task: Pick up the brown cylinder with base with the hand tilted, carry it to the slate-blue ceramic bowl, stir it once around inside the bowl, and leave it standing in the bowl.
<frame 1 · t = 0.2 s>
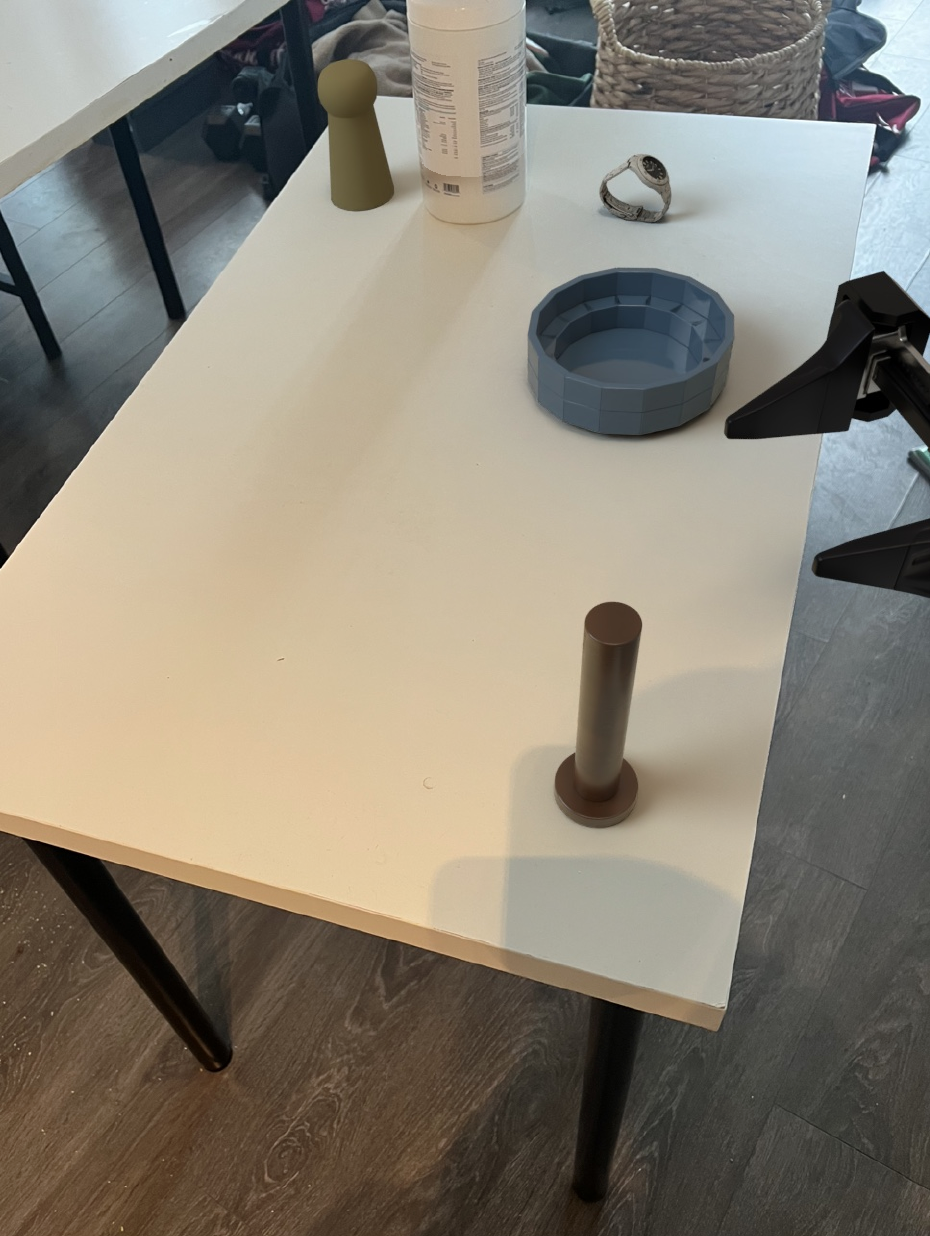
hand: (767, 492, 44), 15 cm above the table, tool horizontal, fingers open, 9 cm apart
brown cylinder with base: (595, 791, 53), on the table
bowl: (625, 377, 72), on the table
olive pawn: (362, 195, 92), on the table
wristwatch: (633, 217, 85), on the table
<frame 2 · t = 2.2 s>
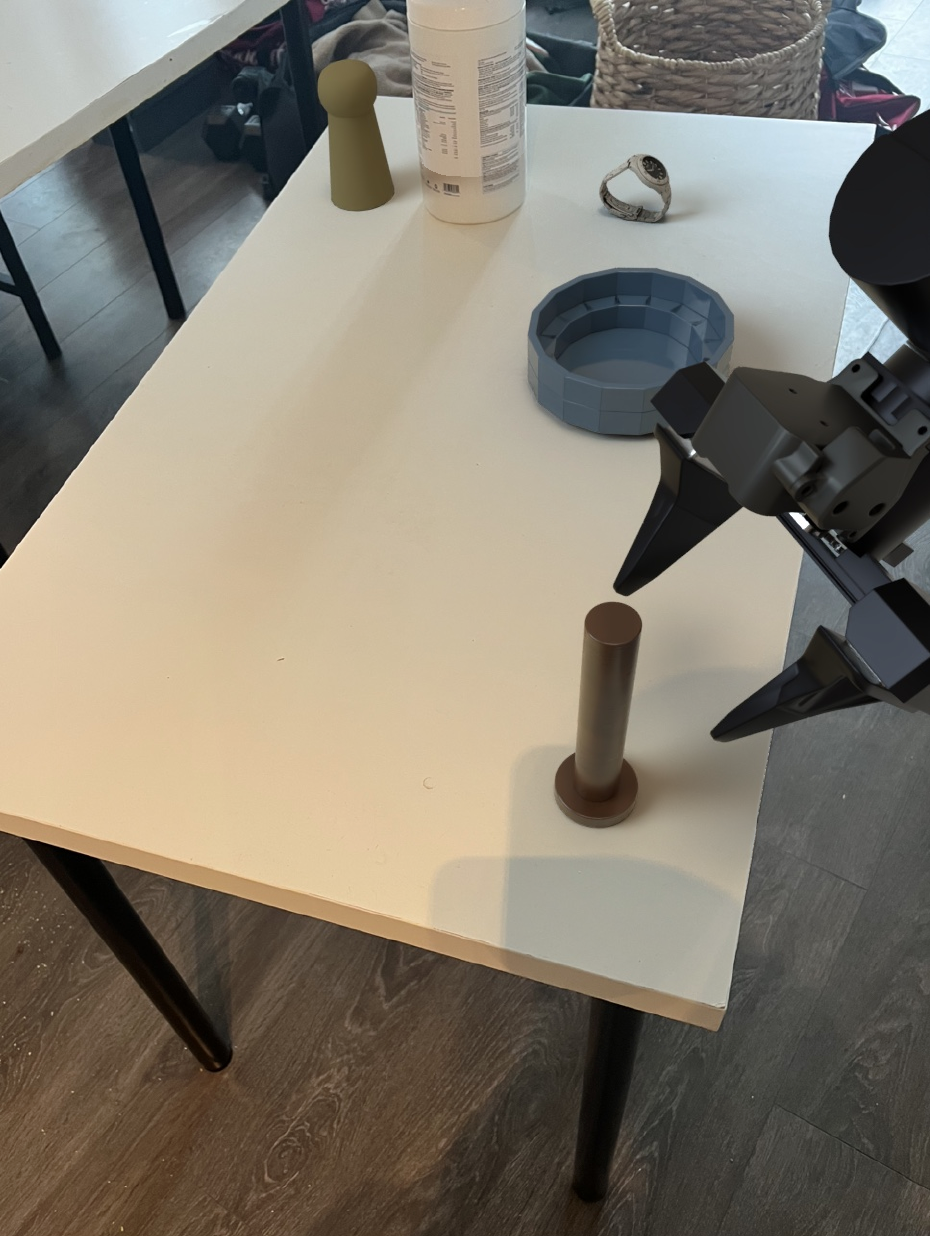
hand: (664, 661, 45), 10 cm above the table, tool tilted 45°, fingers open, 9 cm apart
nothing on the table moved.
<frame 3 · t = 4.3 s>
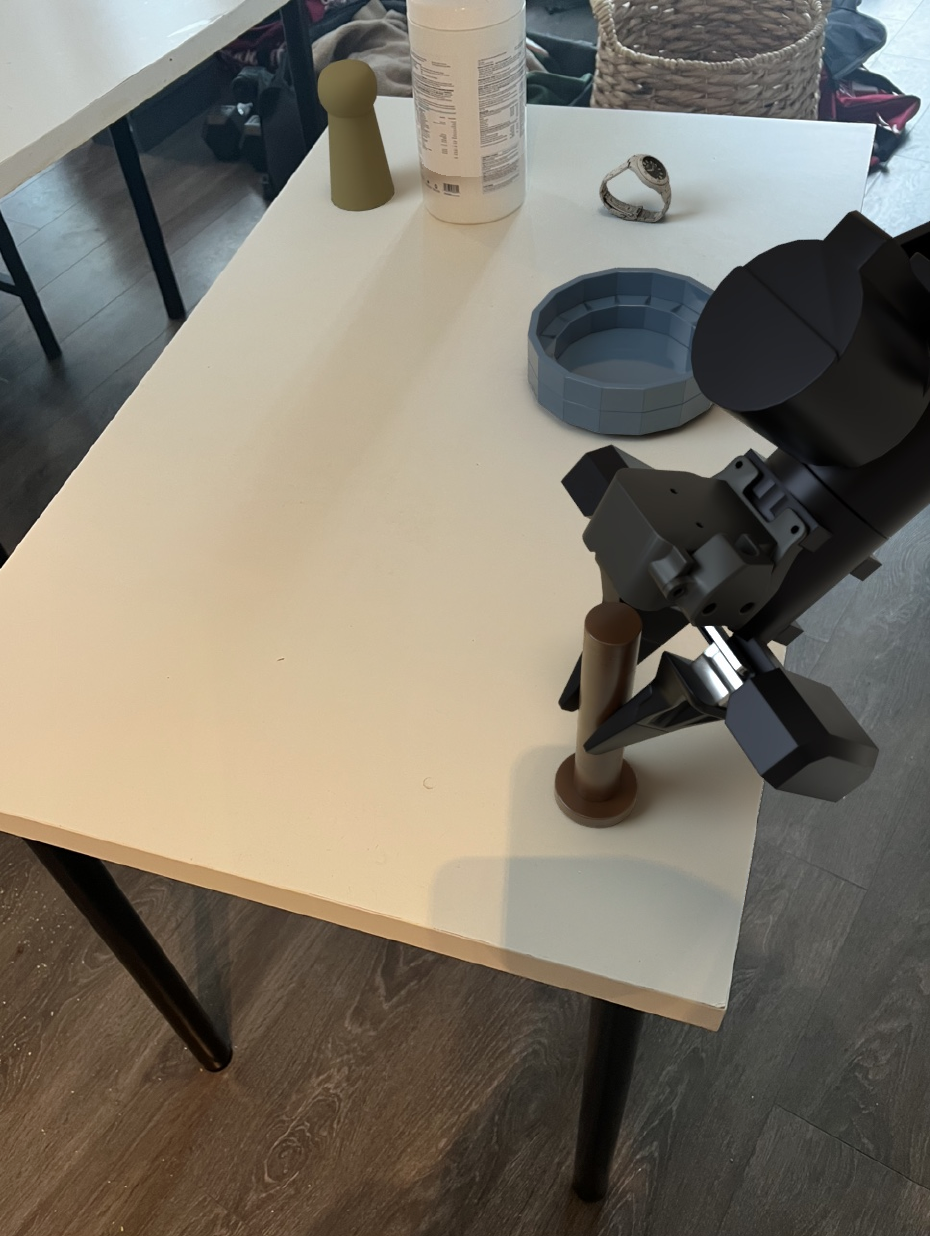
hand: (576, 729, 47), 7 cm above the table, tool tilted 45°, fingers closed on brown cylinder with base, 2 cm apart
brown cylinder with base: (595, 791, 53), on the table, touching gripper
everything else where it was.
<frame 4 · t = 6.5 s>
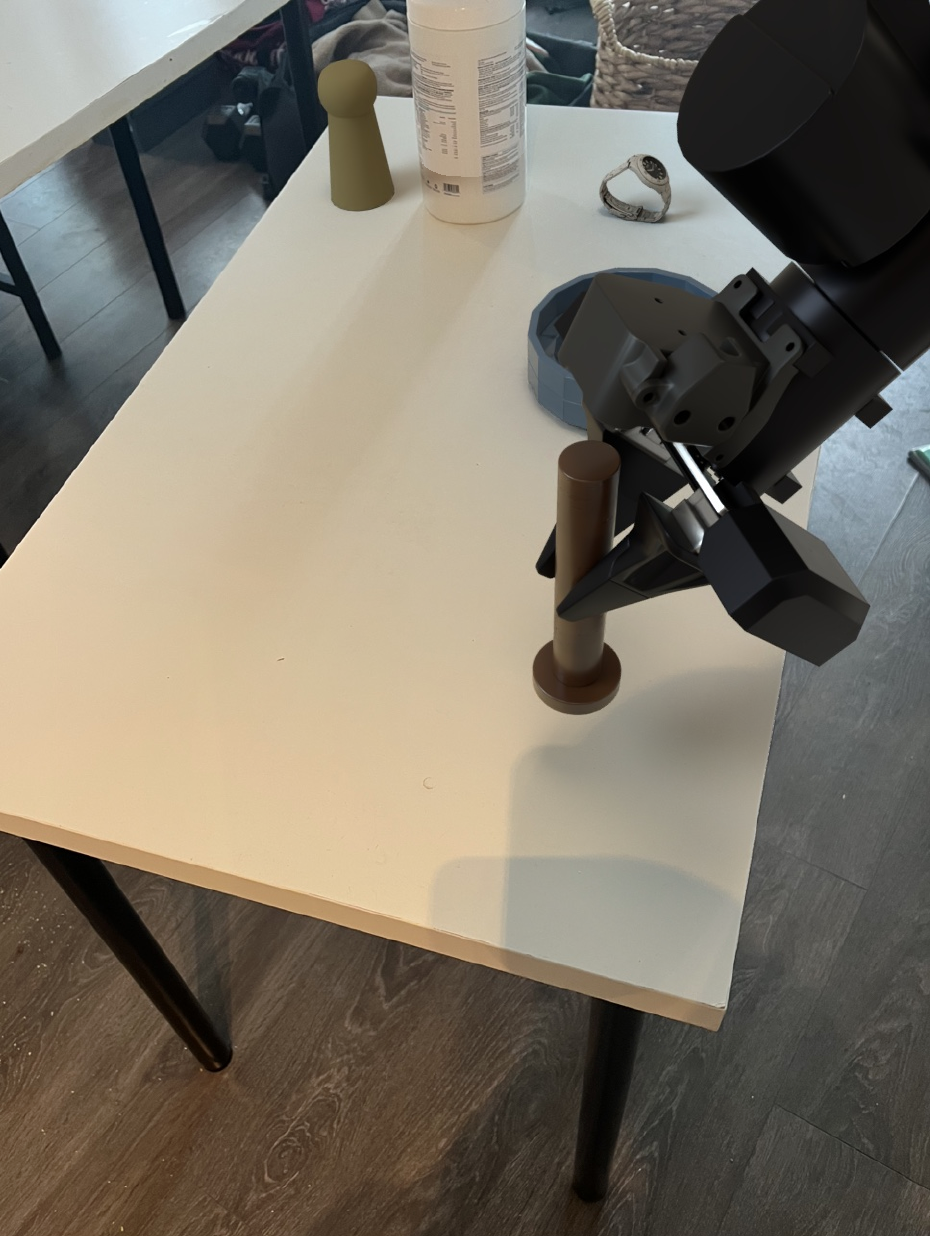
hand: (552, 594, 43), 14 cm above the table, tool tilted 45°, fingers closed on brown cylinder with base, 2 cm apart
brown cylinder with base: (576, 679, 49), point 6 cm above the table, touching gripper
everything else where it was.
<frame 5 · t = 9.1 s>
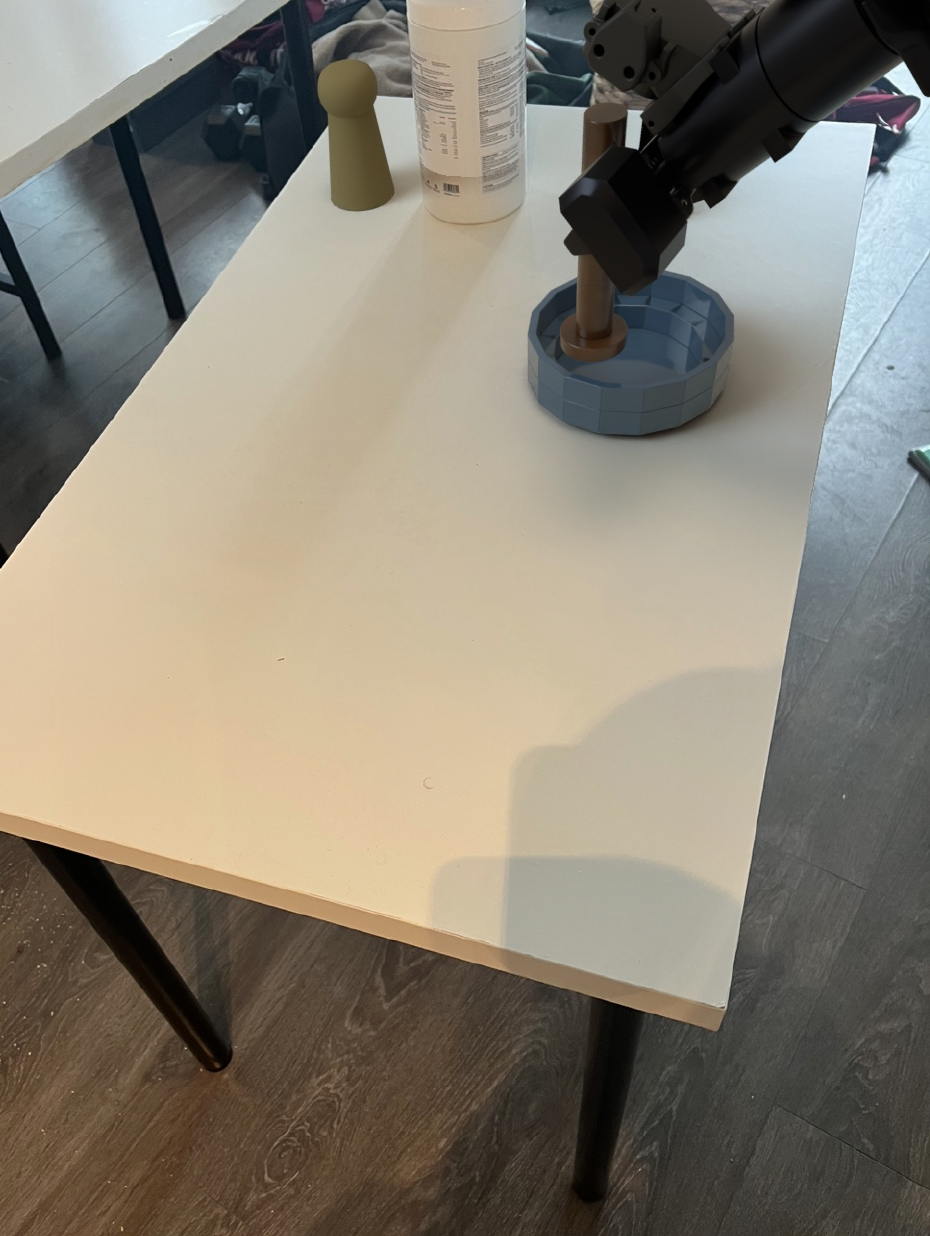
hand: (579, 236, 60), 13 cm above the table, tool tilted 45°, fingers closed on brown cylinder with base, 2 cm apart
brown cylinder with base: (593, 341, 65), point 6 cm above the table, touching gripper
everything else where it was.
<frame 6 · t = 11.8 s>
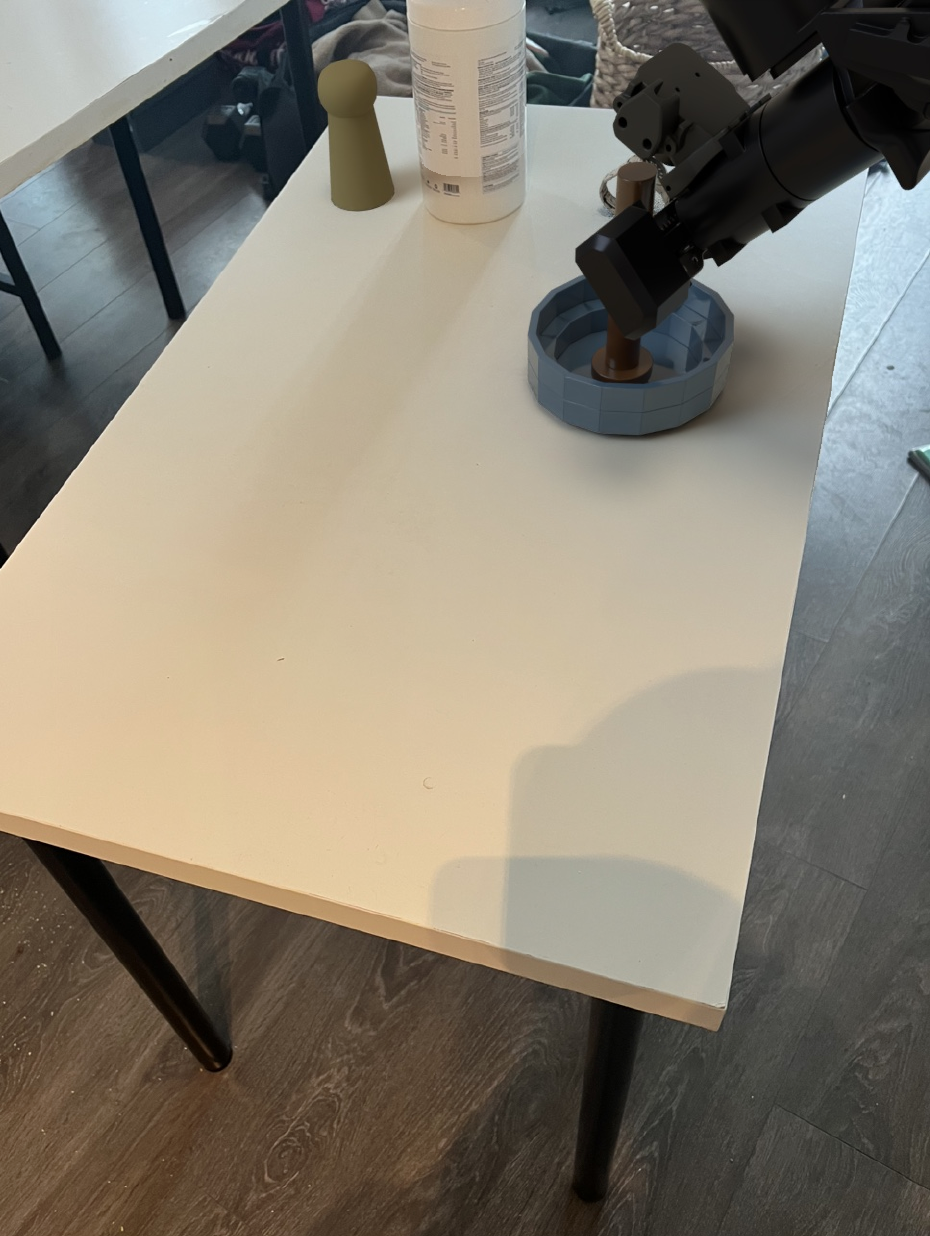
hand: (612, 277, 66), 8 cm above the table, tool tilted 45°, fingers closed on brown cylinder with base, 2 cm apart
brown cylinder with base: (621, 371, 71), point 1 cm above the table, touching gripper
everything else where it was.
when the fingers open (8 cm above the table, at t = 13.9 s): brown cylinder with base stays where it is, resting on bowl.
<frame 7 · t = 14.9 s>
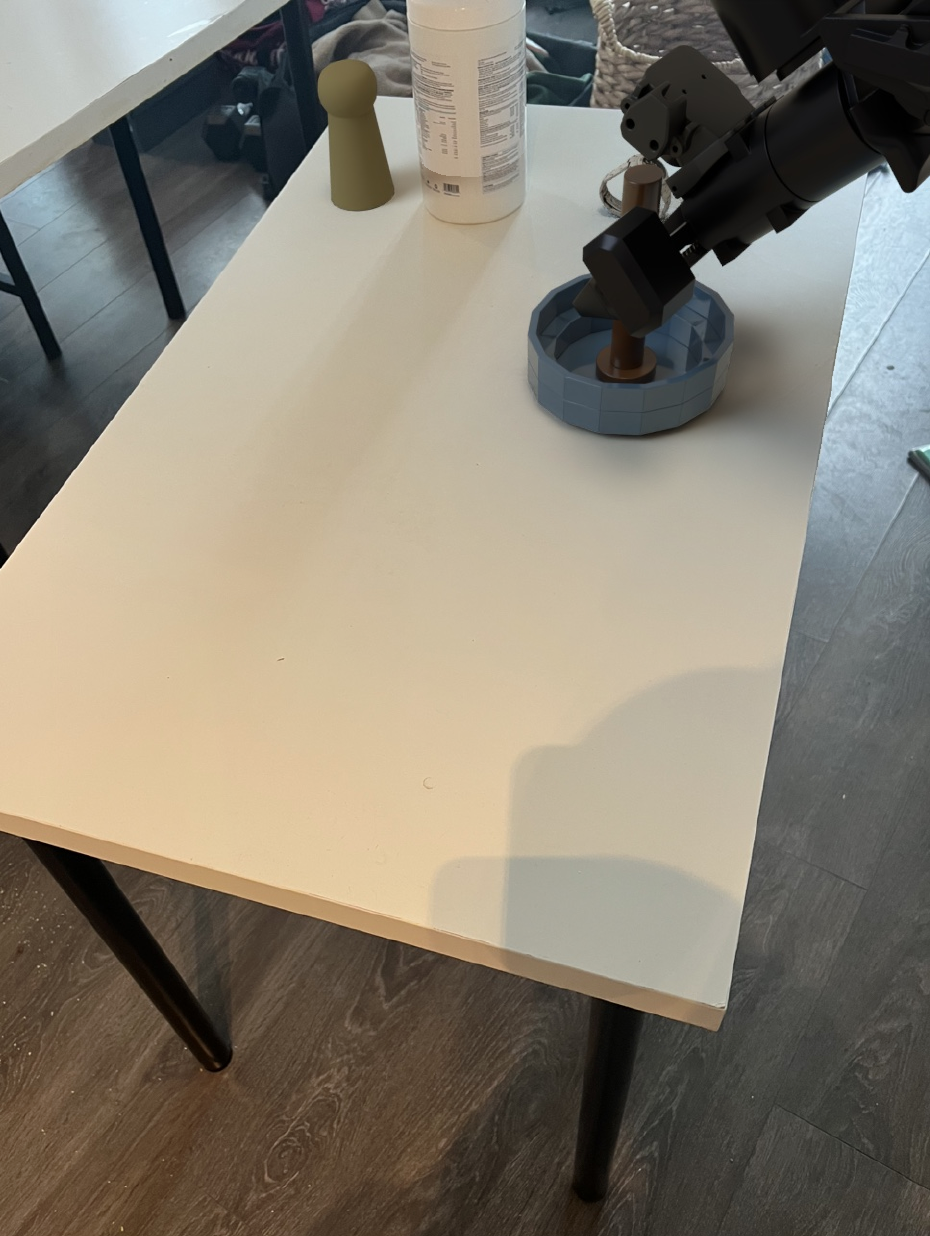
hand: (617, 275, 67), 8 cm above the table, tool tilted 45°, fingers open, 9 cm apart
brown cylinder with base: (625, 371, 72), point 1 cm above the table, touching bowl
everything else where it was.
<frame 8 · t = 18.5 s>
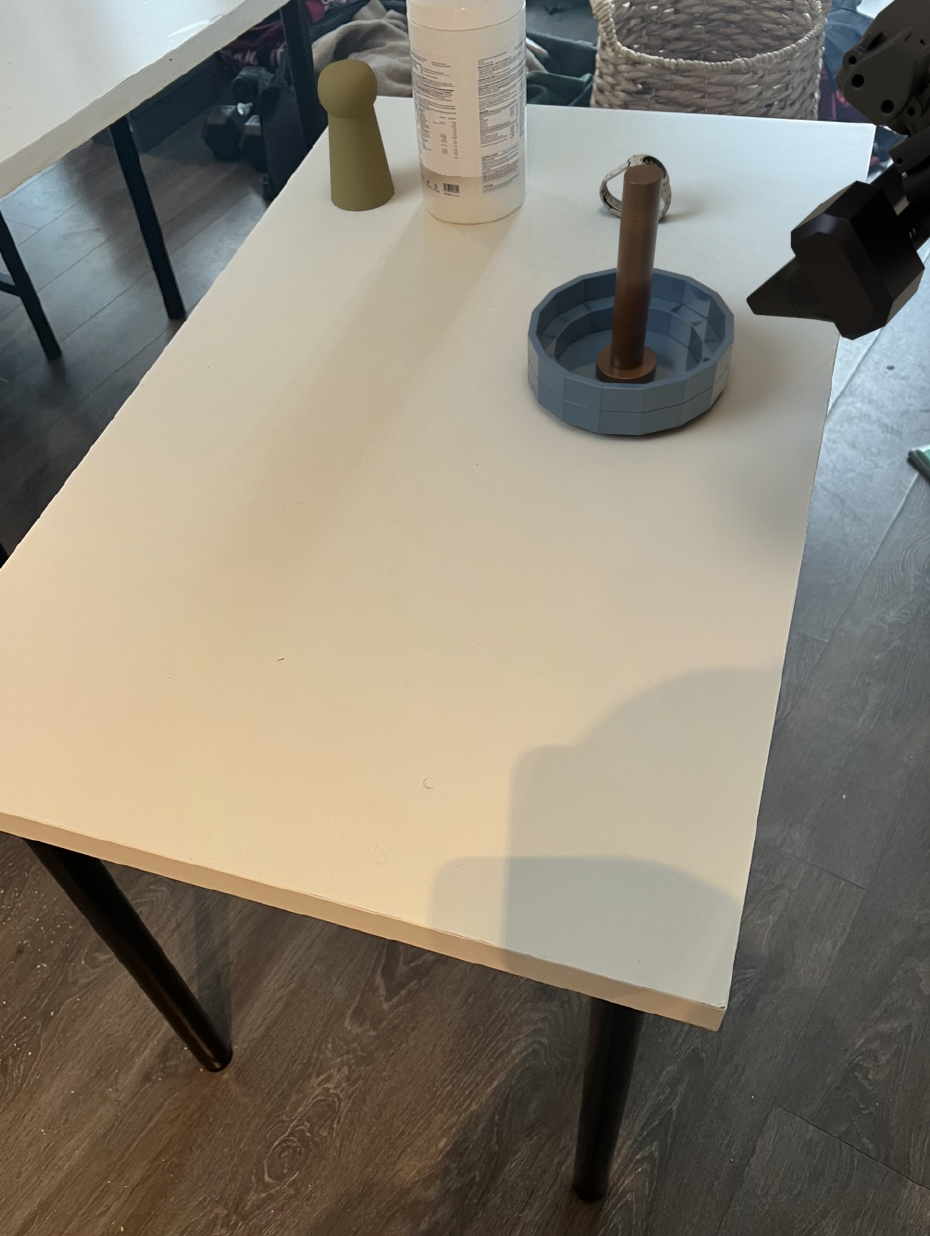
hand: (791, 266, 57), 13 cm above the table, tool tilted 45°, fingers open, 9 cm apart
nothing on the table moved.
at the end: brown cylinder with base inside the target area in the bowl (0.0 cm from its centre), point 0.6 cm above the bowl's base; brown cylinder with base moved 35.5 cm from its start; the gripper is holding nothing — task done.
